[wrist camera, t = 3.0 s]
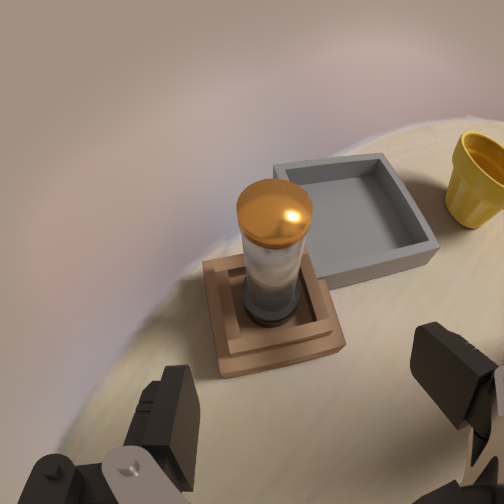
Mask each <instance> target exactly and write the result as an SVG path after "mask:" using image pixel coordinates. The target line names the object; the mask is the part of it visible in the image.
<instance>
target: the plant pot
mask: <svg viewBox="0 0 504 504" xmlns="http://www.w3.org/2000/svg"><path fill="white" fill-rule="evenodd" d="M452 161H453V166H454V167H453V171H452V175H451V179H450V183H449V186H448V190H447V193H446V196H445V203H446V206H447V209H448V211H449V212H450V214H451V215H452V216H453V218H454V219H455V220H456V221H457V222H459V223H460V224H461V225H463V226H465V227H467V228H471V229H476V228H479V227H480V226H482V225H483V224H484V223H486V222H487V221H488V220H489V219H491V218H492V217H493V216H495V215H496V214H497V213H498V212H500V211H501V210H502V209H504V147H503V146H502V145H501V144H499V143H498V142H496V141H495V140H493V139H492V138H490V137H488V136H486V135H484V134H482V133H479V132H475V131H466V132H464V133H463V134H462V135H461V137H460V139H459V141H458V143H457V145H456V148H455V150H454V153H453V156H452Z"/></svg>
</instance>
